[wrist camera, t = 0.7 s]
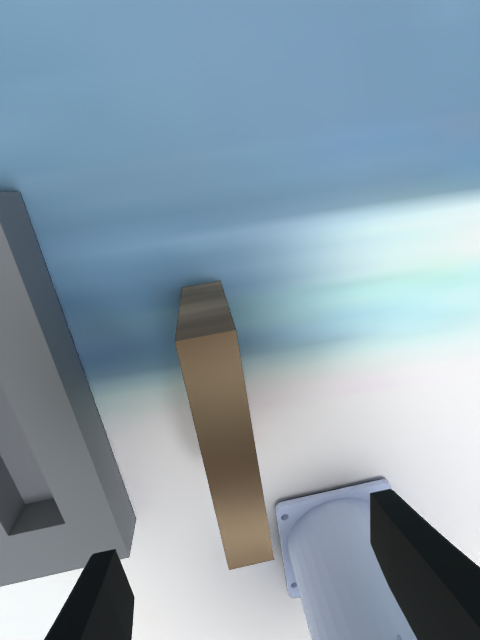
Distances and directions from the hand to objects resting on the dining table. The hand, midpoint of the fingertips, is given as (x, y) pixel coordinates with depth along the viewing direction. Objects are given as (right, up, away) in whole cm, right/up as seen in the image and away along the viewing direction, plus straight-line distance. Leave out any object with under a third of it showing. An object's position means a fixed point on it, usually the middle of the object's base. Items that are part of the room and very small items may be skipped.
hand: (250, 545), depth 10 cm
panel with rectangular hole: (-12, +2, +9) cm, 15 cm away
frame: (-2, +3, +10) cm, 11 cm away
